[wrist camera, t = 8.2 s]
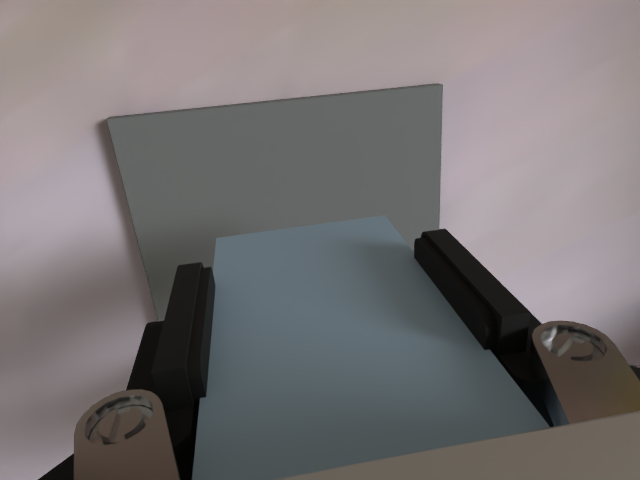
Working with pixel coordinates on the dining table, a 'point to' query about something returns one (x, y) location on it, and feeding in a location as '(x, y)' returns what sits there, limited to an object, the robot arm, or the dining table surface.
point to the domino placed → (340, 357)
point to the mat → (276, 171)
